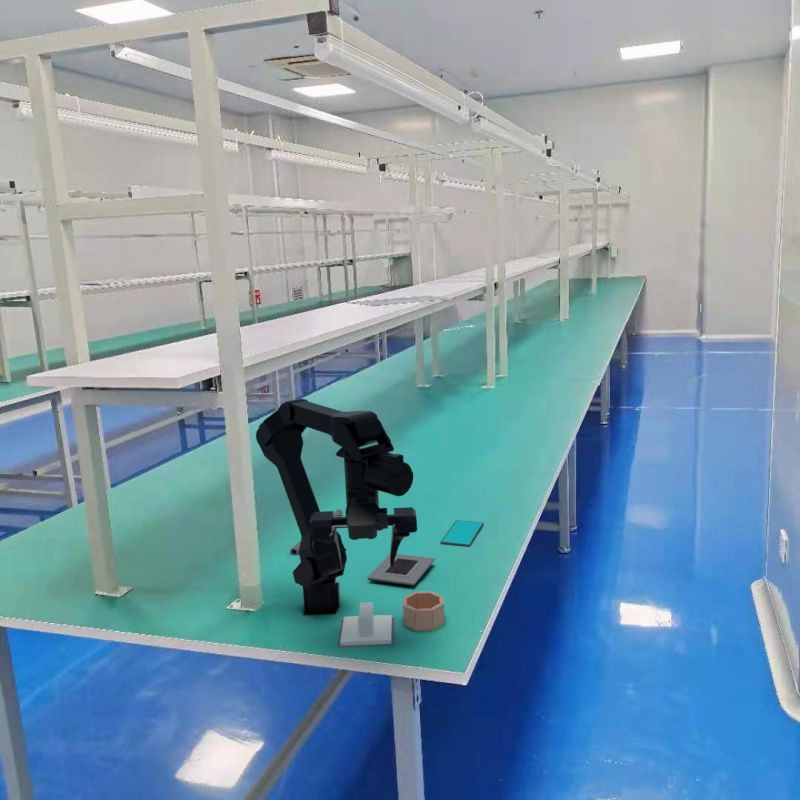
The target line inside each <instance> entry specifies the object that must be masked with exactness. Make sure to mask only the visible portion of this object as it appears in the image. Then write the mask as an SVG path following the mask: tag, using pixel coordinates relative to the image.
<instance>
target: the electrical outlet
mask: <svg viewBox="0 0 800 800" xmlns="http://www.w3.org/2000/svg"><path fill="white" fill-rule="evenodd" d="M435 560H436V558H435V557H425V556H418V555H411V554H402V553H397V554H396V557H395V560H394V564H393V567H391V566H390V554H388V556H386V558H385V559H383V561H382V562H380V564H379V565H378V566H377V567H376V568H375V569H374V570H373V571H372V572H371V573H369V575H368V576H367V577H366V579H367V580H368V581H371V582H377V583H378V582H379V583H385V584H392V585H400V586H401V585H402V586H408V587H414V586H415V585H416V583H417V582H418V581H419V580H420V579H421V577H422V576H423V575H424V574H425V573H426V571H427V570H428V569H429V568H430V567H431V566H432V564H433V563H434V562H435Z"/></svg>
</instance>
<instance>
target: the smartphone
mask: <svg viewBox="0 0 800 800" xmlns="http://www.w3.org/2000/svg"><path fill="white" fill-rule="evenodd" d="M484 524H485V523H484V522H481V521H480V522H479V521H472V520H471V521H469V520H455V521H454V523H453V524H452V525H451V527H450V528H449V529H448V531H447V533H446V534H445V535H444V536H443V538H442V539H441V541H440V545H444V546H445V545H446V546H456V547H466V548H470V547H471V546H472V545H473V543H474V541H475V540H476V538H477V536H478V535H479V534H480V532H481V531H482V529H483V526H484Z"/></svg>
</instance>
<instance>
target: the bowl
mask: <svg viewBox="0 0 800 800" xmlns="http://www.w3.org/2000/svg"><path fill="white" fill-rule="evenodd" d="M402 608H403V610H402V612H403V614H402V615H403V625H404V627H406V628H409V629H411V630H413V631H415V632H421V631H422V632H425V631H434V630H436V629H438V628H439V627H442V626H444V625H445V604H444V597H443V595H441V594H438V593H437V592H433V591H430V590H429V591H413V592H412V593H410V594H407V595H405V596H404V597H402Z"/></svg>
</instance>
